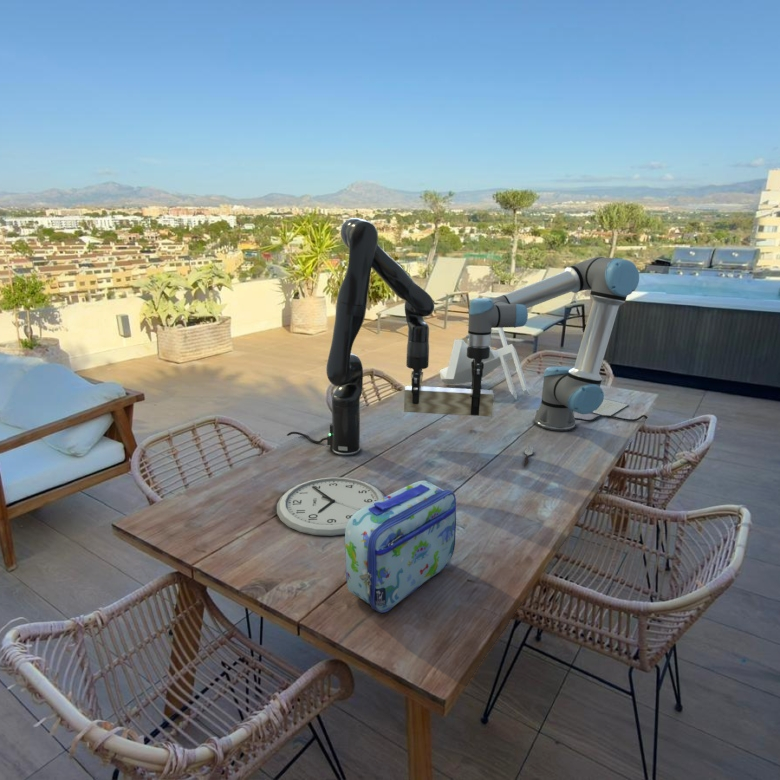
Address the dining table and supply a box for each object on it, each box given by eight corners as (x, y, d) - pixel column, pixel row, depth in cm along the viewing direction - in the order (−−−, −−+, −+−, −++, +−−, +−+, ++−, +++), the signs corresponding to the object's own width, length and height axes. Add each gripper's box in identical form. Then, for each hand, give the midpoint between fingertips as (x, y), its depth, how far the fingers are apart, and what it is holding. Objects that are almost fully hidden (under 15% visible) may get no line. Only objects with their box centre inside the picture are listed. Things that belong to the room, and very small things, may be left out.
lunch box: (374, 626, 100) (375, 530, 93) (338, 598, 107) (337, 508, 101) (459, 568, 117) (465, 484, 111) (424, 547, 124) (427, 467, 118)
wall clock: (392, 527, 129) (268, 531, 127) (391, 533, 130) (269, 537, 127) (383, 473, 158) (282, 475, 155) (383, 478, 158) (282, 480, 156)
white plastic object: (461, 429, 252) (437, 405, 227) (444, 352, 274) (420, 323, 250) (535, 404, 240) (518, 377, 215) (510, 326, 262) (492, 293, 237)
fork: (520, 467, 167) (520, 462, 166) (525, 449, 181) (526, 443, 181) (528, 469, 166) (529, 463, 165) (533, 450, 180) (533, 444, 180)
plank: (490, 411, 182) (492, 390, 180) (491, 416, 177) (493, 394, 175) (405, 407, 186) (405, 385, 183) (403, 411, 181) (404, 389, 178)
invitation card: (608, 416, 214) (573, 407, 224) (608, 416, 214) (573, 408, 224) (628, 404, 229) (594, 396, 238) (628, 405, 229) (594, 397, 238)
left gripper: (408, 348, 184) (407, 394, 189) (404, 357, 170) (403, 407, 175) (429, 349, 183) (428, 395, 188) (427, 359, 169) (425, 408, 174)
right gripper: (466, 339, 182) (463, 403, 189) (467, 351, 165) (463, 420, 172) (488, 340, 182) (484, 404, 188) (491, 352, 164) (487, 421, 171)
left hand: (416, 400), depth 182 cm, fingers closed on plank, 5 cm apart
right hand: (474, 411), depth 180 cm, fingers closed on plank, 5 cm apart
